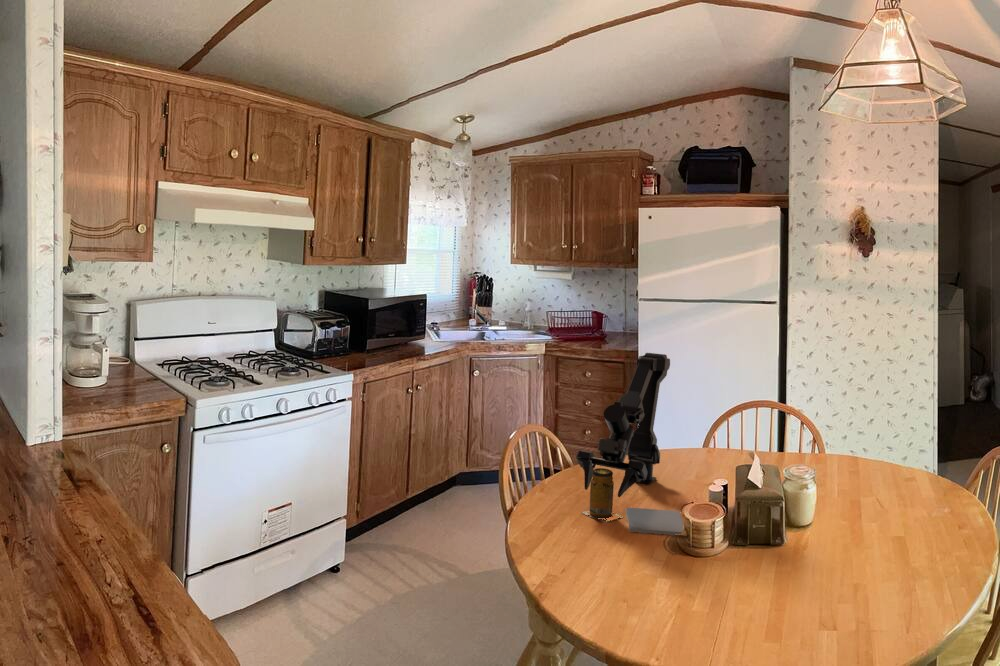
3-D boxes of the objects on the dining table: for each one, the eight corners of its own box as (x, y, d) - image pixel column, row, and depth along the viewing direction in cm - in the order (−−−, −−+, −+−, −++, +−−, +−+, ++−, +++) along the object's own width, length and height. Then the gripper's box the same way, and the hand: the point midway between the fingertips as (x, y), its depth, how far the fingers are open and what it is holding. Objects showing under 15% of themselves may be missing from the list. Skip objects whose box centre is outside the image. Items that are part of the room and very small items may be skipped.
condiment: (600, 507, 186) (602, 465, 184) (624, 517, 179) (626, 473, 178) (581, 513, 181) (583, 470, 179) (605, 524, 174) (607, 479, 173)
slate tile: (625, 510, 183) (625, 507, 183) (678, 514, 182) (678, 510, 182) (629, 532, 170) (630, 528, 170) (687, 536, 168) (687, 532, 168)
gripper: (580, 420, 185) (561, 470, 177) (646, 431, 176) (629, 485, 168) (590, 442, 193) (572, 491, 185) (654, 453, 184) (638, 505, 175)
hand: (601, 492), depth 178 cm, fingers open, 9 cm apart
